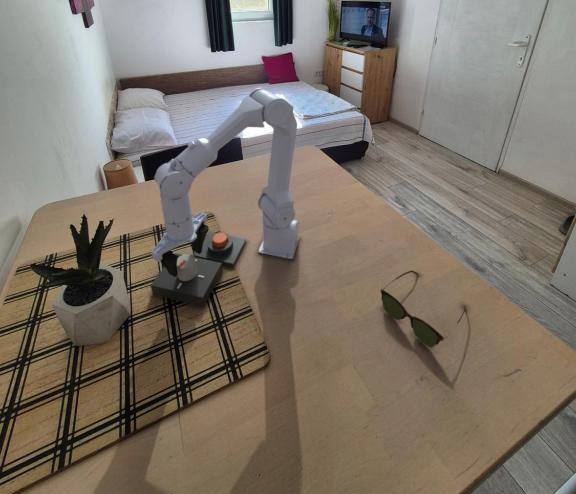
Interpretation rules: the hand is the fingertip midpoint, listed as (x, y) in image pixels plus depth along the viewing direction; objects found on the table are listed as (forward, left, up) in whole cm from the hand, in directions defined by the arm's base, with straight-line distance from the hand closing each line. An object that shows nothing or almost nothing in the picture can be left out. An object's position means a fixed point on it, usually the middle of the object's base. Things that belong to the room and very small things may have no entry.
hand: (185, 262), depth 75 cm
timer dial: (0, 0, -3) cm, 3 cm away
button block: (-3, -11, -6) cm, 14 cm away
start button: (-3, -12, -4) cm, 13 cm away
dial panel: (0, 0, -6) cm, 6 cm away
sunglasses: (-54, -7, -7) cm, 55 cm away
